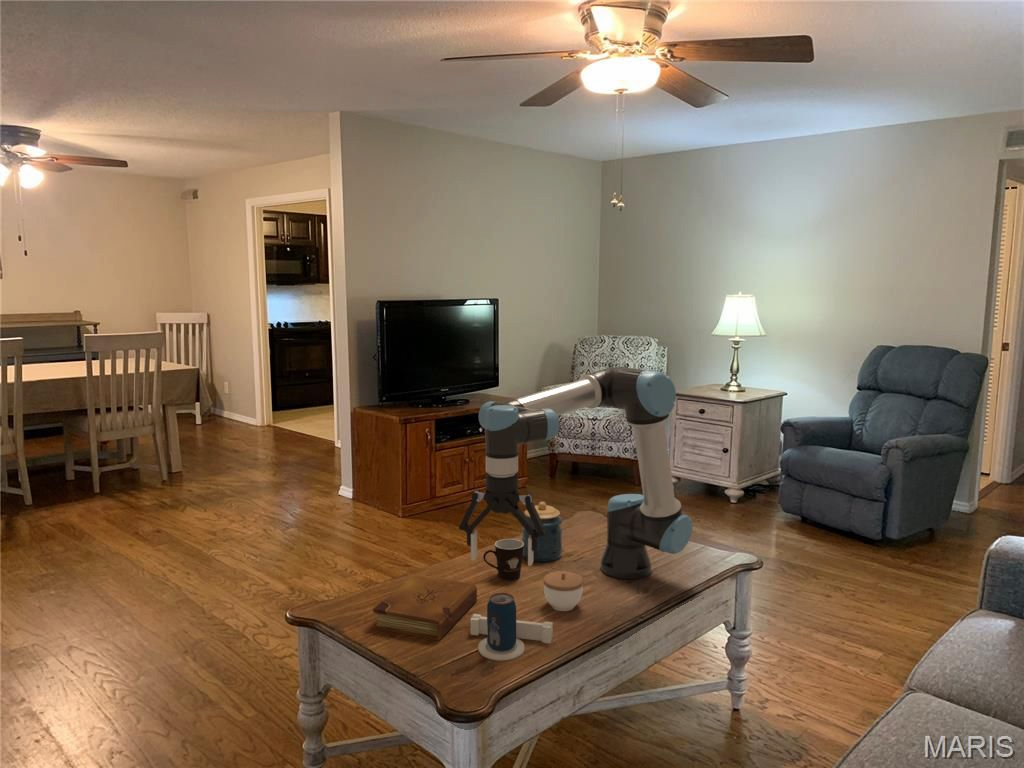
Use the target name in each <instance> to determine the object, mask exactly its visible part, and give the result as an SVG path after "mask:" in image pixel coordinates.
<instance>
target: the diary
mask: <svg viewBox="0 0 1024 768" xmlns="http://www.w3.org/2000/svg"><path fill="white" fill-rule="evenodd" d="M477 601H478V587H477V585H475V583H470V582H466V581H465V582H463V581H458V580H453V579H445V578H439V577H435V576H434V577H433V576H428V575H427V576H426V575H421V574H420V575H419V574H414V575H413V576H412V577H411V578H409V579H408V580H407V581H406V582H404V583H403V584H402V585H400V587H398V588H397V589H396V590H395V591H393V592H392V593H391V594H389V595H388V596H387V597H386V598H385V599H383V600H381V602H379V603H378V604H377V605H376V606H374V607H373V608H372V612H373V613H375V614H376V623H375V624H374V625H373V626H372V628H373V629H375V628H377V630H380V629H382V630H381V631H386V630H388V631H387V632H391V631H392V633H396V632H397V634H401V633H403V635H407V634H408V636H412V635H414V637H417V636H419V638H423V637H424V638H423V639H428V638H429V640H434V641H438V640H439V641H440V640H441V639H443V638H444V636H445V635H446V634H447V633H448V632H449V631H450V629H452V628H453V627H454V626H455V625H456V623H457V622H458V621H459V620H460V619H461V618H462V617H463V616H465V614H466V613H467V611H469V609H471V607H472V606H473V605H474V604H475V603H476V602H477Z"/></svg>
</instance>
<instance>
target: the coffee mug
mask: <svg viewBox="0 0 1024 768" xmlns="http://www.w3.org/2000/svg"><path fill="white" fill-rule="evenodd" d="M494 547H495V550H492V549H489V550H487V551H485V552H484V554H483V557H482V558H483V561H484V562H485V563H486V564H487V565H489V566H491V567H492V568H494V569H496V570H497V576H498V578H499V579H500V580H501V581H516V580H518V579H519V578H520V577H521V572H522V571H521V570H522V562H523V548H524V543H523V542H522V540H519V539H516V538H504V539H500V540H496V541H495V543H494ZM489 553H492V554H494V556H495V557H496V565H494V564H492V563H490V562H488V561H487V559H486V556H487V554H489Z"/></svg>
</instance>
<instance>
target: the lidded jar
mask: <svg viewBox="0 0 1024 768" xmlns="http://www.w3.org/2000/svg"><path fill="white" fill-rule="evenodd" d="M583 590H584V578H583V577H582V576H581V575H580V574H578V573H575V572H572V571H566V570H565V571H563V570H561V571H559V570H558V571H551V572H548V573H547V574H545V575H544V577H543V593H544V596H545V599H546V602H547V603H548V604H549V605H550V606H551V608H553V610H556V611H559V612H569V611H572V610H573V609H574V608H575V607H576V606H577V605H578V604H579V602H580V601H581V600H582V595H583Z"/></svg>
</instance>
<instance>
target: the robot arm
mask: <svg viewBox="0 0 1024 768" xmlns="http://www.w3.org/2000/svg"><path fill="white" fill-rule="evenodd" d="M676 400H677V392H676V387H675V383H674V382H673V381H672V379H671V377H669V376H668V375H667V374H665V373H664V372H661V371H656V370H653V369H641V368H633V367H625V366H615V367H608V368H604V369H601V370H597V371H593V372H590V373H587V374H583V375H581V376H580V377H579V378H578V379H577V380H575V381H571V382H568V383H566V384H562V385H558V386H555V387H552V388H547V389H545V390H542V391H541V390H540V391H538V392H534V393H531V394H528V395H525V396H524V395H523V396H521V397H518V398H513V399H510V400H506V401H503V402H500V401H497V400H495V401H487V402H485V403H484V404H482V406H481V407H480V409H479V411H478V421H479V424H480V426H481V427H482V428H483V429H484V432H485V433H484V434H485V435H484V437H485V439H484V441H485V472H486V474H485V492H480V490H474V492H473V493H472V495H471V502H470V504H469V506H468V508H467V510H466V512H465V514H464V516H463V518H462V520H461V522H460V524H459V526H458V529H459V531H464V532H465V533H466V545H467V546H468V547H470V561H471V562H475V560H476V559H477V558H478V530H477V529H476V527H477V526H478V525H479V524H480V523H481V522H483V520H484V519H485V517H486V516H487V515H488V514H489V513H490V512H491V511H492V512H494V514H499V513H502V514H506V515H507V514H509V513H511V515H512V516H513V517H514V518H516V520H517V521H518V522H519V524H520V525H521V526H522V528H523V527H524V528H525V530H526V531H527V532H528V533H529V535H530V536H529V538H528V559H527V565H528V567H529V566H530V567H532V565H533V564H534V561H533V551H536V550H537V548H538V537H539V536H544V534H545V532H546V529H545V527H544V525H543V523H542V521H541V519H540V517H539V515H538V513H537V510H536V508H535V506H536V505H535V504H534V502H533V494H532V493H527V494H525V495H524V494H523V495H521V494H520V492H519V475H518V472H519V447H520V446H521V445H526V444H532V443H538V442H545V441H549V440H551V439H554V438H555V437H557V435H558V434H559V432H560V425H561V423H560V418H559V416H561V415H565V414H567V413H571V412H574V411H578V410H580V409H583V408H588V409H596V408H598V407H599V408H600V407H607V408H614V409H620V410H624V412H625V420H626V423H628V424H629V426H632V428H633V436H634V443H635V447H636V448H635V449H636V454H637V462H638V469H639V477H640V482H641V488H642V494H639V493H626V494H625V493H624V494H619V495H618V494H617V495H614V496H612V497H611V498H609V500H608V503H607V511H606V512H607V521H606V523H607V529H606V530H607V531H606V534H607V535H606V537H607V538H606V546H605V549H604V551H603V554H602V557H601V560H600V570H601V571H602V573H603V574H605V575H606V576H607V575H608V576H609V577H613V578H616V579H621V580H638V579H643V578H646V577H648V576H649V575H650V574H651V571H652V562H651V560H650V557H649V553H648V550H647V547H650V548H653V549H655V550H658V551H660V552H662V553H667V554H671V555H675V554H678V553H680V552H681V551H683V550H684V549H685V548H686V546H687V545H688V543H689V542H690V539H691V537H692V533H693V529H694V528H693V527H694V526H693V521H692V518H691V517H690V516H688V515H687V514H683V510H682V509H683V508H682V503H681V501H680V500H678V499H677V498H676V497H675V489H674V484H673V477H672V467H671V461H670V454H669V447H668V438H667V431H666V423H665V422H666V421H667V420H668V419H669V418H670V414H671V412H672V411H673V410H674V407H675V403H676ZM674 402H675V403H674ZM482 499H484V500H483V501H485V503H486V505H487V506H486V507H485V508H484V509H483V510H482V511H481V512H480V513H479V515H478V516H477V517H476V518H475V519H474V520H473V522H471V523H470V524H469V522H470V520H471V518H472V516H473V513H474V511H475V509H476V507H477V505H478V504H479V502H481V501H482ZM520 501H521V503H522V504H523V505H524V506H525V508H526V510H527V511H528V513H529V515H530V517H531V519H532V521H533V523H534V525H535V527H536V528H535V527H534V526H533V525H532V523H531V522H530V521H529V520H528V518H527V517H526V516H525V512H523V511H522V509H521V507H520V506H519V502H520ZM475 529H476V530H475Z"/></svg>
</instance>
